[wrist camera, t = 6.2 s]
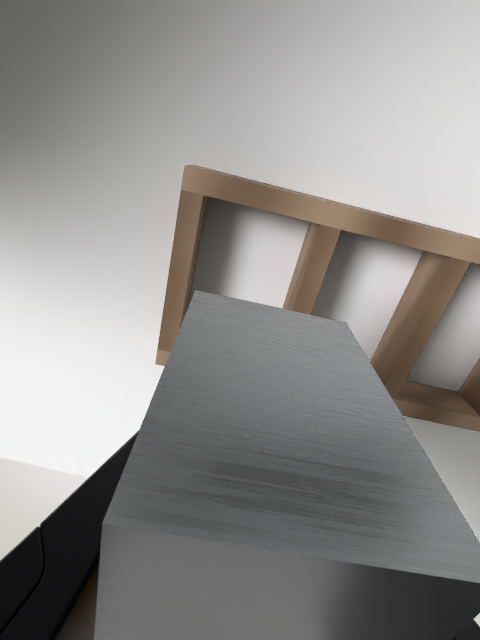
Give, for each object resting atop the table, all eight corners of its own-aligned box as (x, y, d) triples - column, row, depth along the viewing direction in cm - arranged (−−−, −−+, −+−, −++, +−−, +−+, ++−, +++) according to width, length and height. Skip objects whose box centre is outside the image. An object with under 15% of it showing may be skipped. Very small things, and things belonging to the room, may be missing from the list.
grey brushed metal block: (346, 322, 9) (506, 587, 3) (274, 496, 12) (298, 785, 6) (195, 289, 8) (102, 524, 3) (161, 477, 11) (85, 762, 6)
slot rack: (562, 260, 18) (606, 273, 16) (459, 412, 23) (482, 440, 21) (193, 165, 17) (184, 165, 15) (164, 350, 22) (154, 372, 19)
